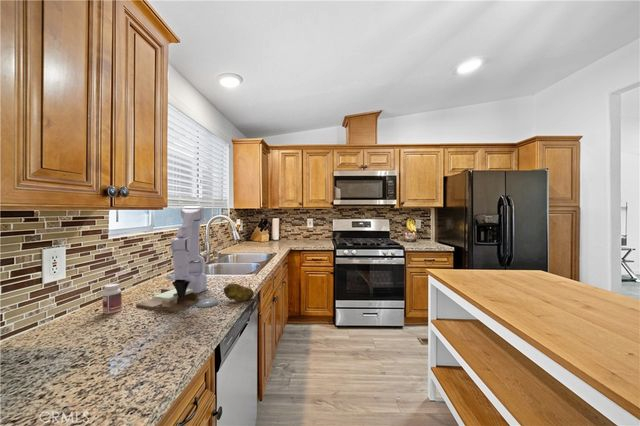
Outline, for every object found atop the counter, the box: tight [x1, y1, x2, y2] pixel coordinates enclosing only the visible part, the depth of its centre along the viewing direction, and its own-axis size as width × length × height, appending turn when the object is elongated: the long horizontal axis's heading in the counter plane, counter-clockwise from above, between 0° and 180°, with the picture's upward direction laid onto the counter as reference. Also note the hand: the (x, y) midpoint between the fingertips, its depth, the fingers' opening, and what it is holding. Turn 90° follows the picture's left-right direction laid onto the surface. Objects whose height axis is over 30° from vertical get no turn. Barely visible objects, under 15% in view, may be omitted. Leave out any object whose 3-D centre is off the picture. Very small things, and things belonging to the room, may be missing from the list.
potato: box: [223, 282, 255, 302], centre depth 121 cm, size 8×13×8 cm, turn 93°
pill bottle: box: [102, 283, 123, 315], centre depth 109 cm, size 6×6×11 cm
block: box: [162, 298, 177, 307], centre depth 113 cm, size 4×4×4 cm
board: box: [135, 288, 200, 314], centre depth 117 cm, size 14×21×4 cm, turn 71°
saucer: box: [195, 298, 219, 309], centre depth 117 cm, size 9×9×1 cm
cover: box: [152, 288, 193, 301], centre depth 115 cm, size 12×9×2 cm
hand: (181, 297), depth 112 cm, fingers closed
